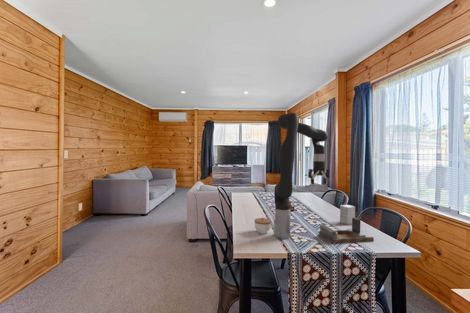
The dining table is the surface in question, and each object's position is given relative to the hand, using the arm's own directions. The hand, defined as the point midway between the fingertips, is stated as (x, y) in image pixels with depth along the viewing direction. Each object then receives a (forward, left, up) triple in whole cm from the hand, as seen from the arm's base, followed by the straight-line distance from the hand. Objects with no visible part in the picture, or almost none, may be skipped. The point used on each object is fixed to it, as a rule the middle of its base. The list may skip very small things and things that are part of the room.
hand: (318, 184), depth 161 cm
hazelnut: (-2, -23, -29) cm, 37 cm away
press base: (+5, -23, -30) cm, 38 cm away
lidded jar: (-40, -3, -30) cm, 50 cm away
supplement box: (+28, +8, -30) cm, 42 cm away
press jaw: (+12, -23, -28) cm, 39 cm away
